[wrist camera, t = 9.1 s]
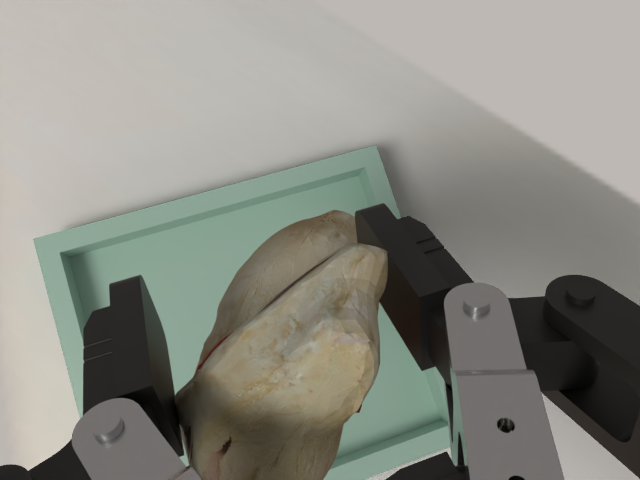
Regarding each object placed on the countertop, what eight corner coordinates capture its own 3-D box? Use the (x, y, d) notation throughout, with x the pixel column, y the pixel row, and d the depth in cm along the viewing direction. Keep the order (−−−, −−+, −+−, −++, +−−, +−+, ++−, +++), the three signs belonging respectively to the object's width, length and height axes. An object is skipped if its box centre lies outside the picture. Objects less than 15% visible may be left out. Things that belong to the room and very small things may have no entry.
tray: (366, 158, 34) (376, 144, 32) (458, 429, 33) (476, 436, 30) (49, 247, 31) (33, 238, 29) (130, 552, 29) (120, 571, 27)
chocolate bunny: (130, 343, 18) (-3, 341, 8) (331, 196, 20) (415, 48, 10) (240, 491, 18) (233, 670, 8) (434, 328, 19) (628, 311, 10)
